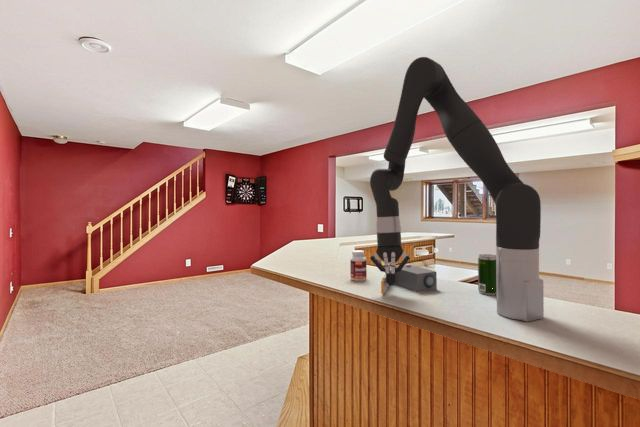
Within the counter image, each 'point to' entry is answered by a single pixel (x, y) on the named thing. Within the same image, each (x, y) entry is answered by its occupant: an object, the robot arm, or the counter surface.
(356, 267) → the pill bottle
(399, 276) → the camera body
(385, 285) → the grey orange flat panel
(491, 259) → the beer can
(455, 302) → the counter surface
